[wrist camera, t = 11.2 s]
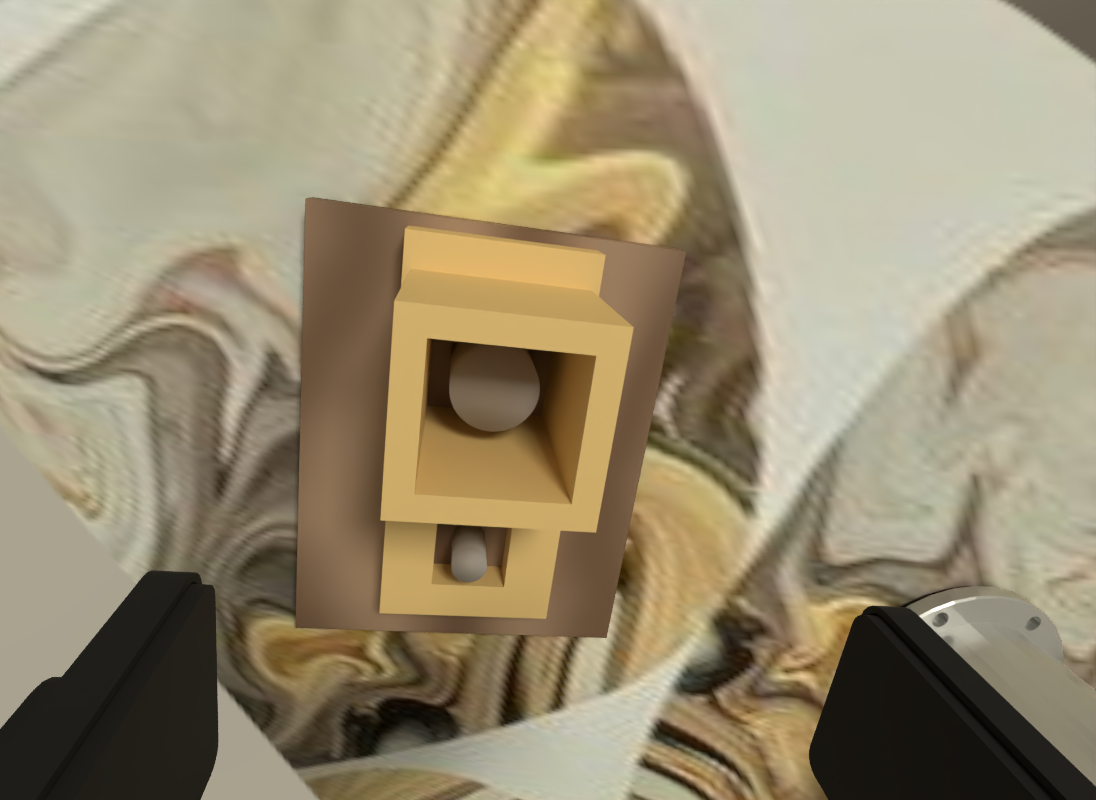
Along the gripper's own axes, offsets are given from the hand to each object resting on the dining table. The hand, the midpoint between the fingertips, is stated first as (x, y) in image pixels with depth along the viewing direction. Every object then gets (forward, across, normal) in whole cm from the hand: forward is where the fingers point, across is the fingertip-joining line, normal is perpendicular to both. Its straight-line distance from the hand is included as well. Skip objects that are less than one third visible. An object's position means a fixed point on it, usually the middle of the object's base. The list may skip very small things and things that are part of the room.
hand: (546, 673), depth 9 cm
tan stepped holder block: (+17, 0, +3) cm, 17 cm away
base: (+18, 0, +4) cm, 18 cm away
